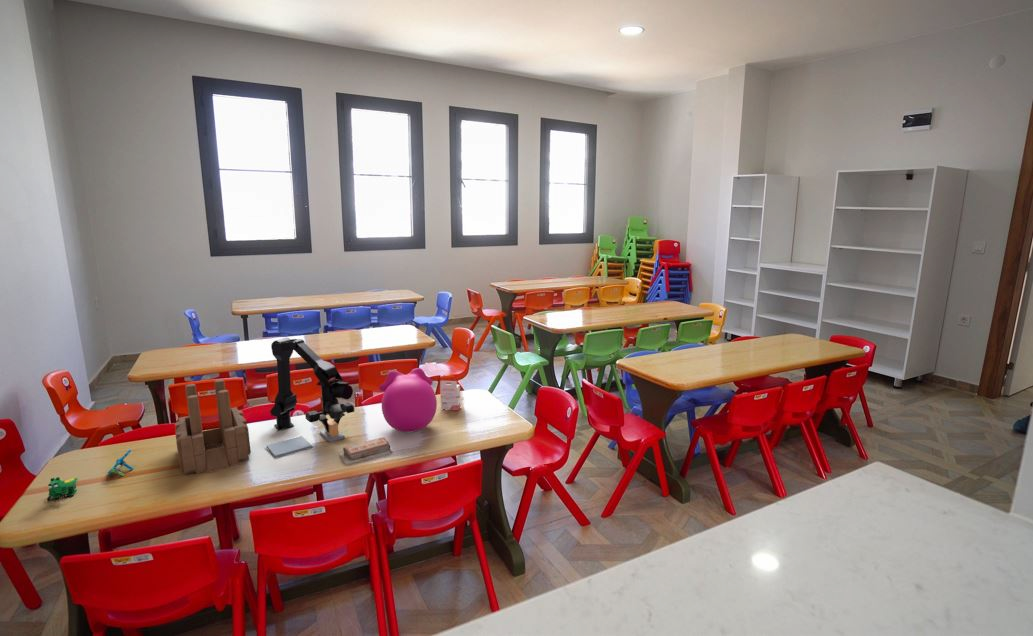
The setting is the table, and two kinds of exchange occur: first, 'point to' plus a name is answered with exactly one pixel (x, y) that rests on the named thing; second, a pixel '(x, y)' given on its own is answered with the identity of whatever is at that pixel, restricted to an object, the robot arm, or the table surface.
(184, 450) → the wooden toy structure
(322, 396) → the robot arm
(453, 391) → the ink cartridge box
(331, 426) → the stub
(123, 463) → the blue green toy
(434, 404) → the figurine
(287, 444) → the ticket board
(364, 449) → the packaged product
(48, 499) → the crocodile
